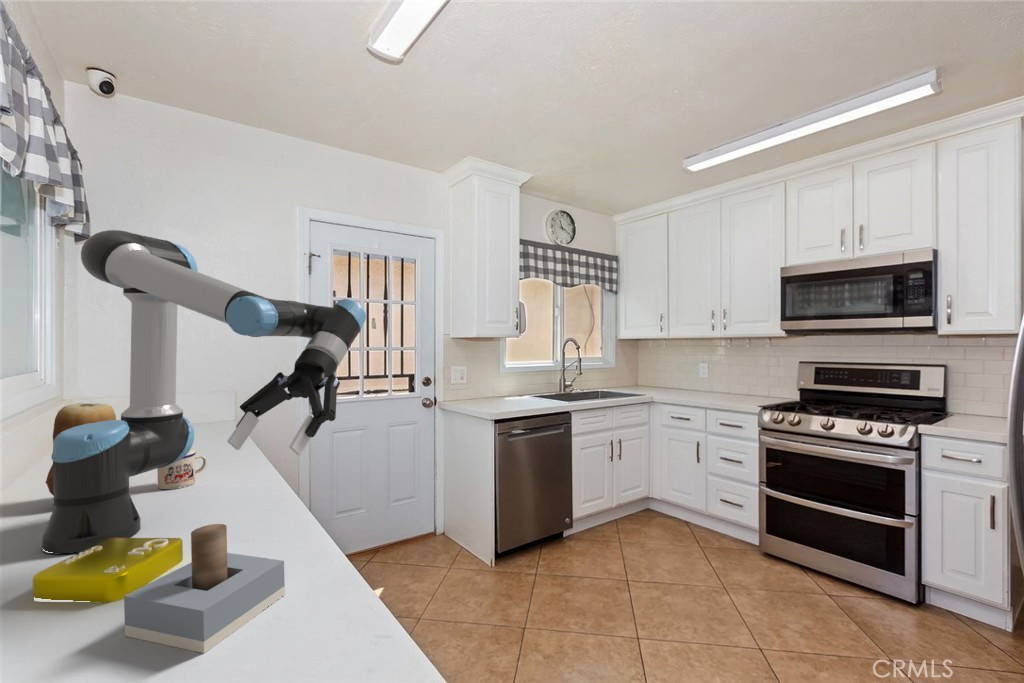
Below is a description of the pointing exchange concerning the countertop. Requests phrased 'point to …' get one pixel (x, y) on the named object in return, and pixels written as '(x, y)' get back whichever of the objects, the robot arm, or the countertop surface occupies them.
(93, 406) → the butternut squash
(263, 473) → the countertop surface
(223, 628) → the socket block
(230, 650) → the countertop surface
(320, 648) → the countertop surface
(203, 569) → the pin
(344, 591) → the countertop surface
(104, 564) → the element tile
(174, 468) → the enamel mug
